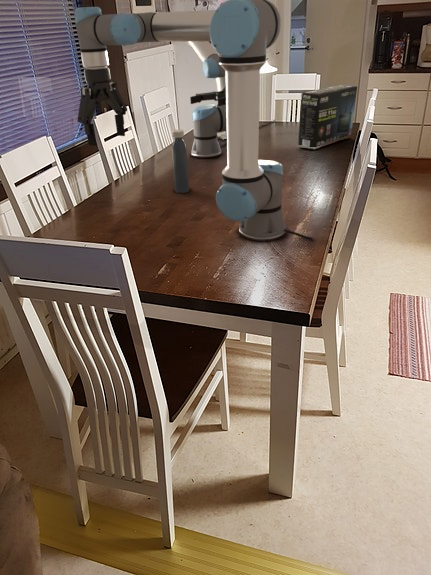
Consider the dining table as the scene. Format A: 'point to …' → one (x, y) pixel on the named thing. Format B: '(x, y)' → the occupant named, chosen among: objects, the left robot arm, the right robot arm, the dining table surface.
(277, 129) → the dining table surface
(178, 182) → the bottle
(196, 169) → the dining table surface
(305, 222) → the dining table surface
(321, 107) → the router box
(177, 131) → the cap
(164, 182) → the dining table surface
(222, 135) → the fossil
